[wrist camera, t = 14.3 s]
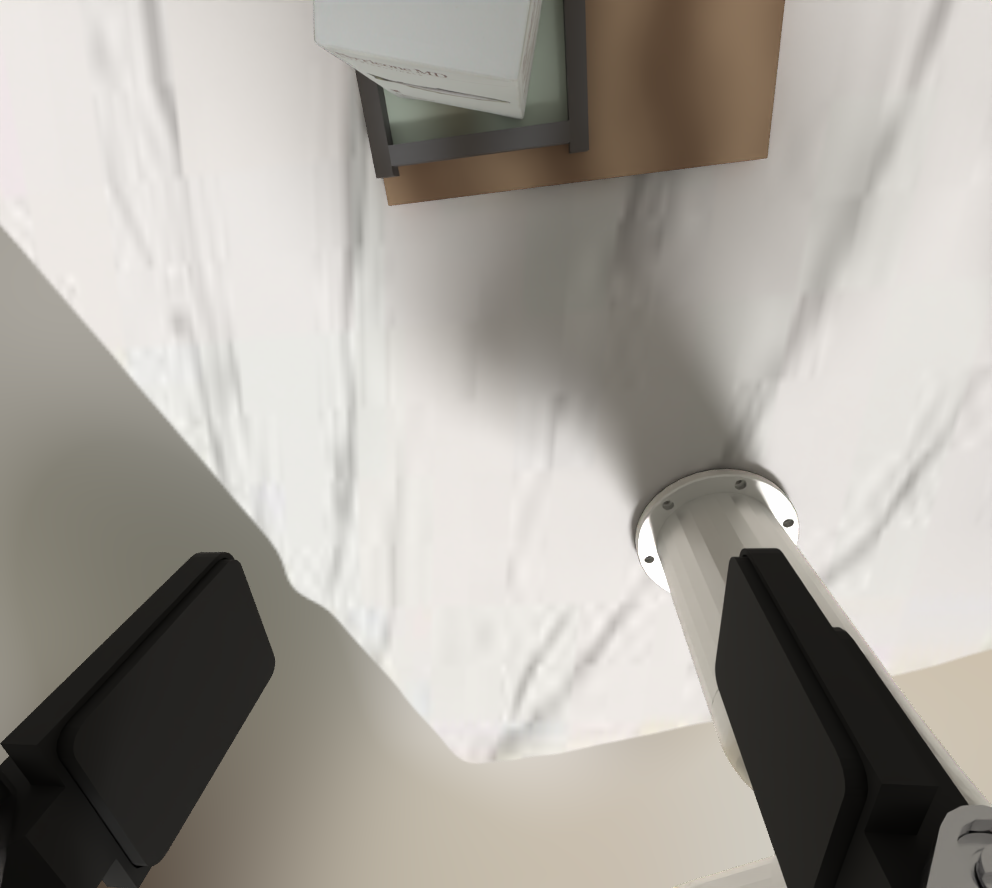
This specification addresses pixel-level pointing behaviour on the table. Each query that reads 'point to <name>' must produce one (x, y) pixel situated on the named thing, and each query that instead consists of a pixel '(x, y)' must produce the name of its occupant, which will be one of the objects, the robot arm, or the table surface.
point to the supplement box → (437, 48)
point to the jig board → (596, 102)
